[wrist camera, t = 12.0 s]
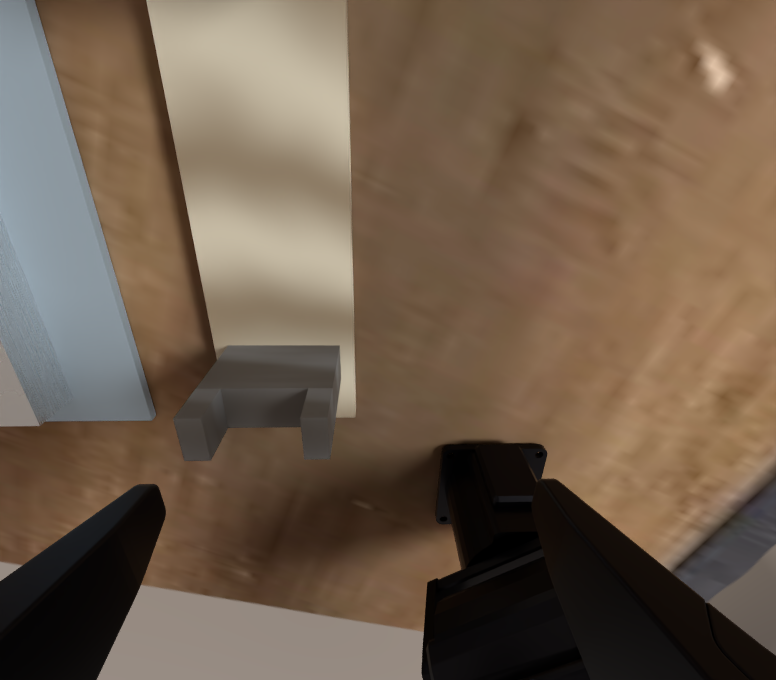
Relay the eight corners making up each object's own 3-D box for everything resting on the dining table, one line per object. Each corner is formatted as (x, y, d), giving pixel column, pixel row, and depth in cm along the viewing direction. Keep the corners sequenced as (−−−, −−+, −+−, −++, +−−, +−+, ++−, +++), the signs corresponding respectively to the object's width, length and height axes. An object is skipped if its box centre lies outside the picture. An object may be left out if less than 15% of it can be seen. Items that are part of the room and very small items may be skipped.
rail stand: (355, 406, 23) (349, 504, 16) (234, 407, 22) (179, 507, 16) (342, -222, 12) (310, -614, 6) (114, -235, 12) (-171, -664, 6)
